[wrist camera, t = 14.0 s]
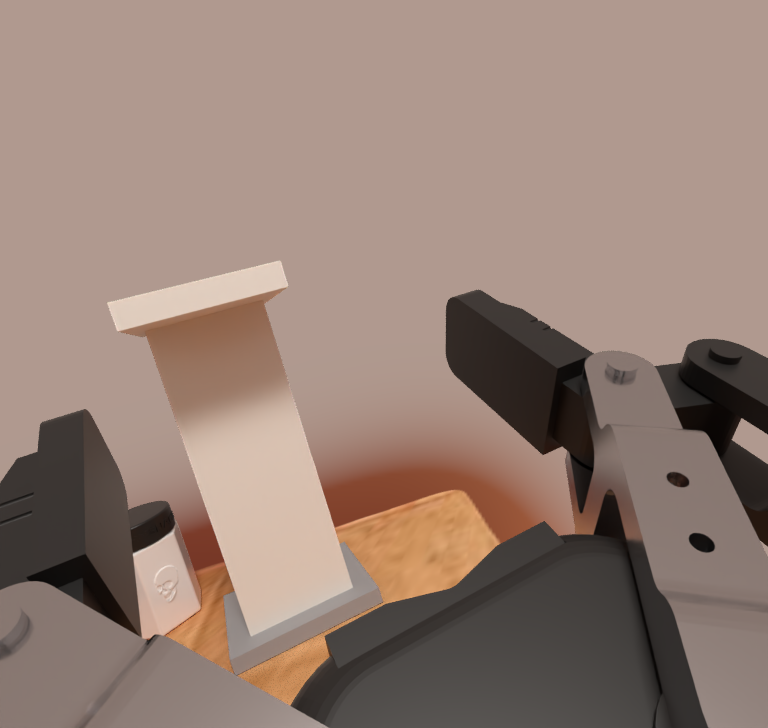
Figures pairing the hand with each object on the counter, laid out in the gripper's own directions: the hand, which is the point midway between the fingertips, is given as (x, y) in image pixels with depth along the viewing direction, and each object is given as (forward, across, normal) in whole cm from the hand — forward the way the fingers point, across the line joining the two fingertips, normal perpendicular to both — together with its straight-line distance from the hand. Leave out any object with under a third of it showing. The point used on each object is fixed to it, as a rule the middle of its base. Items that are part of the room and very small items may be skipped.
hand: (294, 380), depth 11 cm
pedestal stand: (+17, 0, +40) cm, 44 cm away
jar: (+30, +13, +48) cm, 58 cm away
